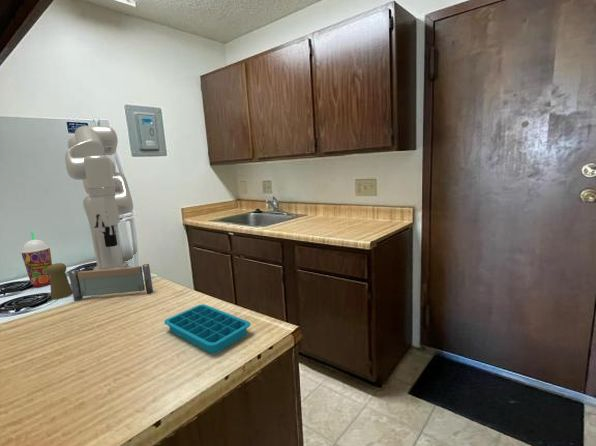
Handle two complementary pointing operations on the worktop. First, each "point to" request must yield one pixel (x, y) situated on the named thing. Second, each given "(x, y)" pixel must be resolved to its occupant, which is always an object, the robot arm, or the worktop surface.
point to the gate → (111, 281)
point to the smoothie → (37, 261)
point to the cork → (59, 281)
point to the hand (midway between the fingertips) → (111, 245)
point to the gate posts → (77, 289)
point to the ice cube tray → (208, 327)
